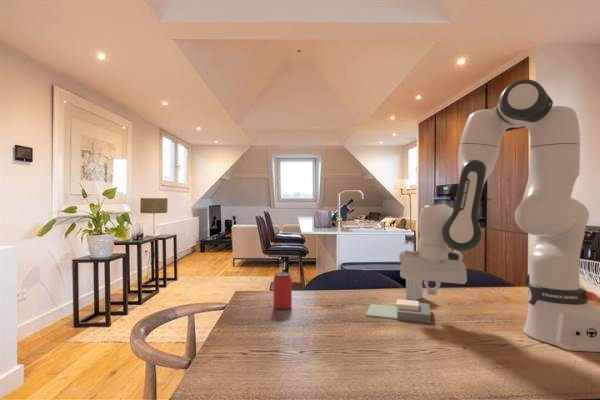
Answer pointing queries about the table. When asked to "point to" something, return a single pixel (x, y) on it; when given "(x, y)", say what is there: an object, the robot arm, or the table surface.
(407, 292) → the skincare box
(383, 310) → the mat
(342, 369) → the table surface
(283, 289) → the beer can
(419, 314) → the block
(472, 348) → the table surface
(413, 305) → the tile
